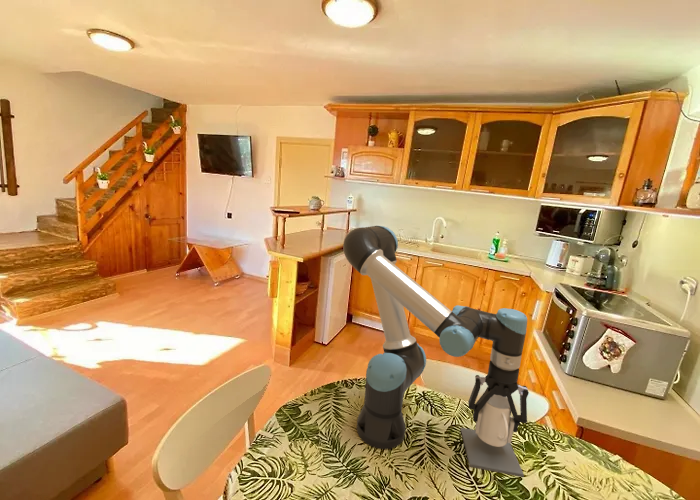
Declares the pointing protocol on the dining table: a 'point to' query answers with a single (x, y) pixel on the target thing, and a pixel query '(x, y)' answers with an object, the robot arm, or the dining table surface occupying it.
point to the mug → (495, 421)
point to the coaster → (490, 455)
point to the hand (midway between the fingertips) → (492, 434)
